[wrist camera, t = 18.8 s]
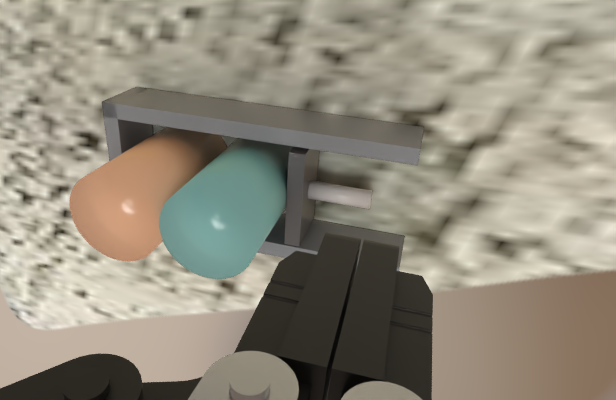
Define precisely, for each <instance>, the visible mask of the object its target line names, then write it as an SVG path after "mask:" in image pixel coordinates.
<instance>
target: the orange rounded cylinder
mask: <svg viewBox="0 0 616 400" xmlns="http://www.w3.org/2000/svg"><path fill="white" fill-rule="evenodd" d="M226 148H227V146H226V144H225V142H224V141H223V139H222V137H221V136H220V135H217V134H210V133H204V132H197V131H191V130H185V129H178V128H172V127H165V128H163V129H161V130H160V131H158V132H157V133H155V134H153V135H152V136H150V137H148V138H147V139H145V140H143V141H142V142H140V143H139V144H137V145H135V146H134V147H132V148H130V149H129V150H127V151H126V152H124V153H122V154H121V155H119V156H117V157H116V158H114V159H113V160H111V161H109V162H108V163H106V164H104V165H103V166H101V167H100V168H98V169H96V170H95V171H93V172H91V173H90V174H88V175H87V176H85V177H83V178H82V179H80V180H79V181H78V182H77V183H76V184H75V186H74V188H73V189H72V192H71V196H70V211H71V215H72V218H73V221H74V223H75V225H76V227H77V229H78V231H79V232H80V234H81V235H82V236H83V238H84V239H85V240H86V241H87V242H88V243H89V244H90V245H91V246H92V247H94V248H95V249H96V250H98V251H99V252H101V253H102V254H104V255H106V256H108V257H111V258H113V259H117V260H121V261H136V260H140V259H142V258H145V257H146V256H148V255H149V254H150V253H151V252H152V251H153V250H154V249H155V248H156V247H157V246H158V245H159V244H160V243H161V242H162V241H163V239H162V237H161V233H160V227H159V219H160V214H161V210H162V208H163V206H164V204H165V203H166V201H167V200H168V199H169V198H170V197H171V196H173V195H174V194H175V193H176V192H177V191H178V190H179V189H181V188H182V187H183V186H184V185H185V184H186V183H187V182H189V181H190V180H191V179H192V178H193V177H194V176H195V175H197V174H198V173H199V172H200V171H201V170H202V169H203V168H205V167H206V166H207V165H208V164H209V163H210V162H211V161H213V160H214V159H215V158H216V157H217V156H218V155H219V154H221V153H222V152H223V151H224V150H225V149H226Z"/></svg>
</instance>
